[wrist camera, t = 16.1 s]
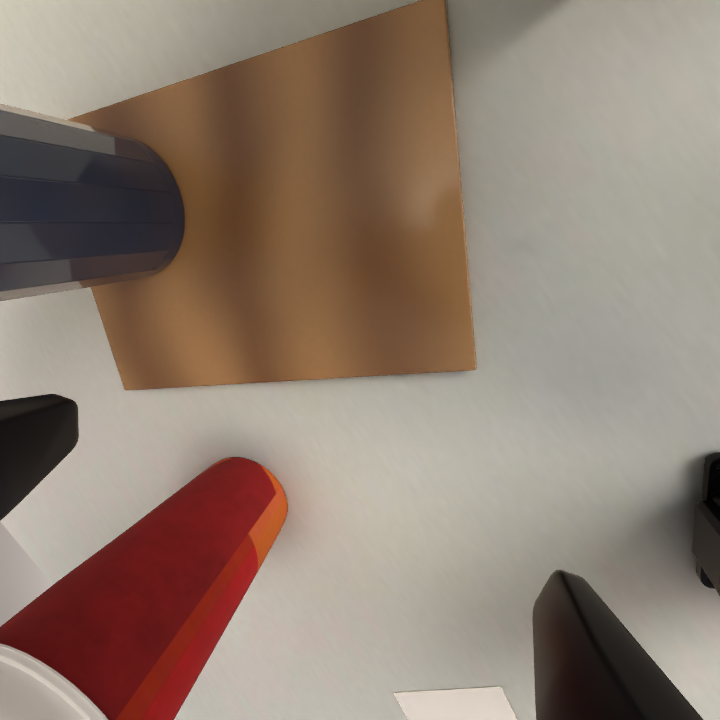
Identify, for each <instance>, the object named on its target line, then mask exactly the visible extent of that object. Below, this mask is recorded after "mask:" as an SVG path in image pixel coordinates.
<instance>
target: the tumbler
mask: <svg viewBox="0 0 720 720" xmlns="http://www.w3.org/2000/svg"><path fill="white" fill-rule="evenodd" d="M184 224H185V216H184V207H183V201H182V197H181V194H180V190H179V188H178V185H177V183H176V180H175V178H174V176H173V175H172V173H171V171H170V169H169V168H168V166H167V165H166V163H165V162H164V161H163V160H162V159H161V158H160V156H159V155H158V154H157V153H156V152H154V151H153V150H152V149H151V148H150V147H148V146H147V145H146V144H144V143H142V142H140V141H138V140H136V139H134V138H131V137H127V136H123V135H119V134H117V133H115V132H112V131H108V130H104V129H100V128H96V127H92V126H88V125H84V124H80V123H76V122H72V121H68V120H64V119H60V118H56V117H52V116H48V115H44V114H40V113H36V112H32V111H28V110H24V109H20V108H16V107H12V106H8V105H4V104H0V301H6V300H12V299H18V298H24V297H31V296H37V295H43V294H49V293H56V292H62V291H68V290H74V289H81V288H87V287H93V286H99V285H106V284H112V283H118V282H124V281H131V280H137V279H140V278H142V277H148V276H152V275H155V274H157V273H159V272H160V271H162V270H164V269H165V268H166V267H167V266H168V265H169V264H170V263H171V262H172V260H173V259H174V258H175V256H176V254H177V253H178V251H179V248H180V246H181V243H182V239H183V234H184Z"/></svg>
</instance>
